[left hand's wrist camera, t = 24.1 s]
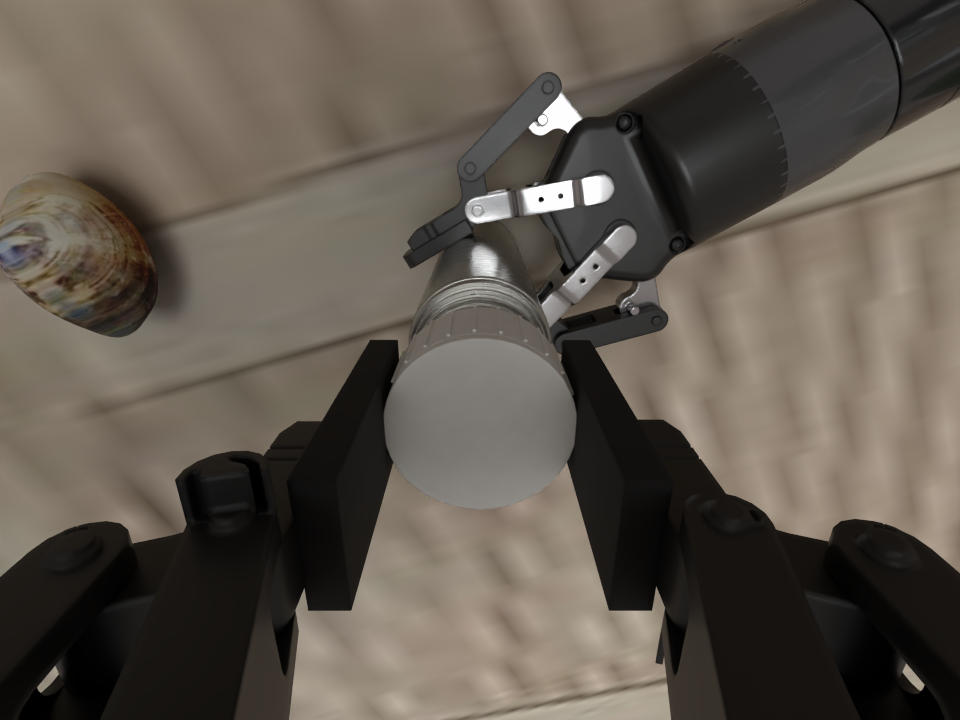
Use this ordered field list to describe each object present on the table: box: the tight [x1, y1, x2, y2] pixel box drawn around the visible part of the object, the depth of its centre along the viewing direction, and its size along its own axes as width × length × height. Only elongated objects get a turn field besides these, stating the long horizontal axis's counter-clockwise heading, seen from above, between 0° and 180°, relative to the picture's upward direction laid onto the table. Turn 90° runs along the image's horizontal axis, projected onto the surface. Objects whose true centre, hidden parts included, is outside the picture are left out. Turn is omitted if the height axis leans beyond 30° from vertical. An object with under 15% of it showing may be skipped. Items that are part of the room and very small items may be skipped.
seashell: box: [0, 172, 158, 337], centre depth 28 cm, size 10×6×8 cm, turn 22°
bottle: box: [409, 221, 551, 344], centre depth 23 cm, size 5×5×21 cm
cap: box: [384, 306, 577, 509], centre depth 13 cm, size 5×5×3 cm
